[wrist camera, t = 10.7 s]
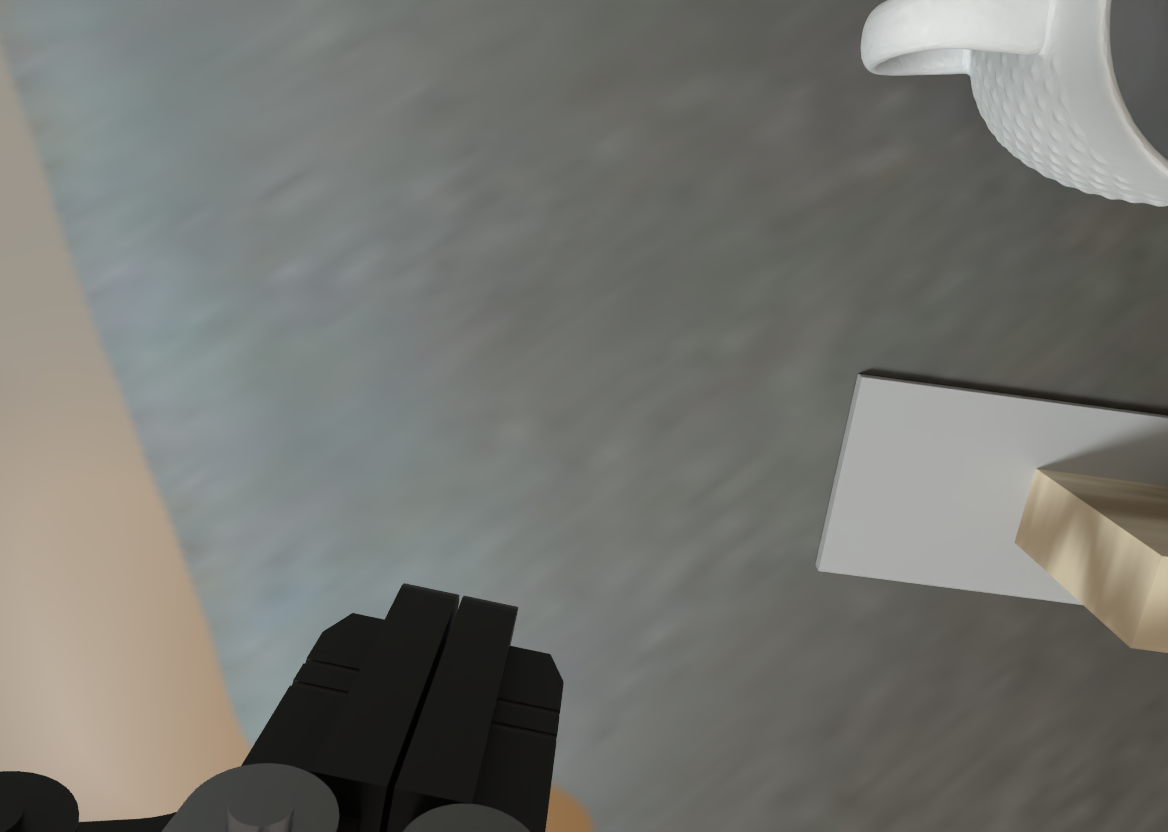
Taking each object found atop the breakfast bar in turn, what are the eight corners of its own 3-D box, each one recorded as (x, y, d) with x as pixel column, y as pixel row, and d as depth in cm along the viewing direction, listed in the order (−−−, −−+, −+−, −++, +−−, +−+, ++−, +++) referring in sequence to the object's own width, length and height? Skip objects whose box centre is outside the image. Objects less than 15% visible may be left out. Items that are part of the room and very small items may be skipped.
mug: (813, 202, 37) (926, 223, 24) (826, -100, 34) (963, -255, 21) (1183, 193, 36) (1493, 210, 24) (1229, -113, 33) (1611, -277, 21)
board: (858, 373, 39) (861, 377, 38) (1356, 440, 39) (1367, 445, 39) (815, 565, 41) (818, 570, 40) (1285, 625, 42) (1294, 632, 41)
